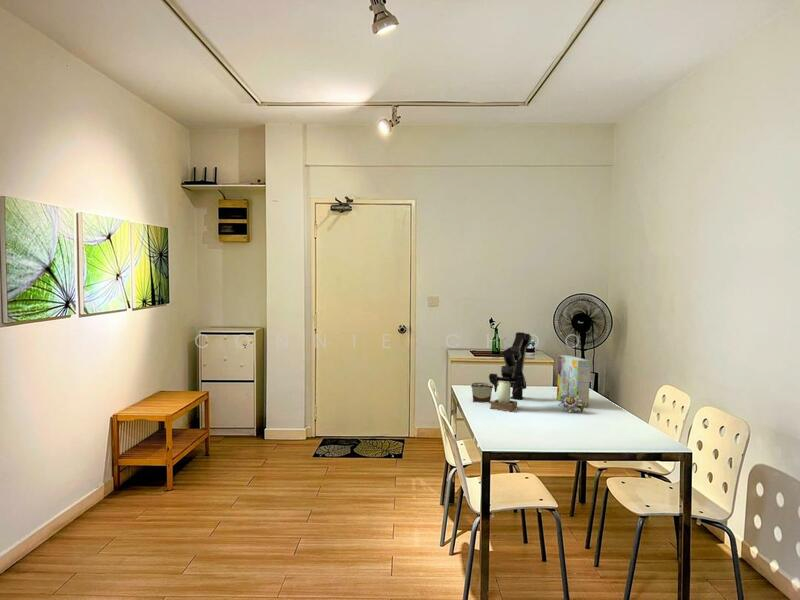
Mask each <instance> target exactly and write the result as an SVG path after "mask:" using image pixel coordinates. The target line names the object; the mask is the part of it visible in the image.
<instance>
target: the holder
mask: <svg viewBox="0 0 800 600" xmlns="http://www.w3.org/2000/svg"><path fill="white" fill-rule="evenodd" d="M516 408H517V409H518V401H515V400H510V404H503V403H498V398H497V399H495V400H493V401H490V406H489V409H491V410H494V409H497V410H496V411H500V410H503V411H502V412H507V411H509V412H508V413H510V411H511V412H513V411H515V410H517V409H516ZM514 409H515V410H514ZM512 410H513V411H512Z"/></svg>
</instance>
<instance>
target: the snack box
mask: <svg viewBox="0 0 800 600" xmlns="http://www.w3.org/2000/svg"><path fill="white" fill-rule="evenodd" d="M591 365H592V360H591V359H590V360H589V359H585V358H581V357H578V356H574V355H573V356H572V355H558V368H557V386H556V387H557V388H556V400H558V401H561V400H560V399H561V396H562V395H564V396H565V395H567V394H569V392H571V393H572V396H573V395H574V396H579V397H578V398H577V399H578V400H581V403H582V405H583V406H582V407H583V408H587V407H589V399H590V398H589V397H590V385H591V384H590V383H591V382H590V380H591V367H592V366H591ZM574 396H573V397H574ZM561 402H562V401H561ZM577 408H579V407H578V406H577Z"/></svg>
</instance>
